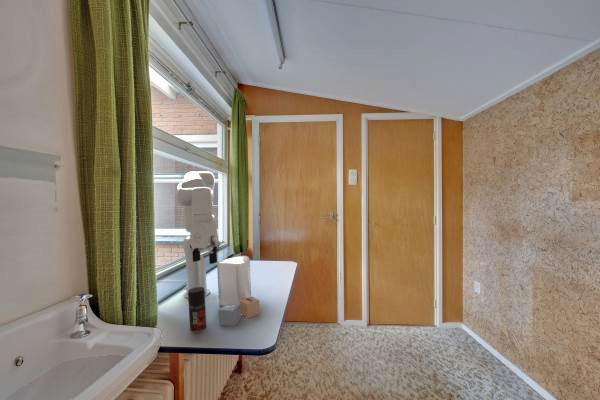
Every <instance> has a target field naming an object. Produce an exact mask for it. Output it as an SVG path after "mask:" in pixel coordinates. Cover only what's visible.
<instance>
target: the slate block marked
mask: <svg viewBox="0 0 600 400" xmlns="http://www.w3.org/2000/svg"><path fill="white" fill-rule="evenodd" d="M218 319H219V320H218V321H219V326H230V325H232V327H233V326H235V323H236V322H237V321H238V322H239V321H240V319H241V314H240V305H239V304H225V305H224V306H221V307H220V308H219V310H218ZM238 322H237V323H238ZM237 323H236V324H237Z"/></svg>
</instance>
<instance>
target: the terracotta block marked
mask: <svg viewBox="0 0 600 400" xmlns="http://www.w3.org/2000/svg"><path fill="white" fill-rule="evenodd" d="M260 313H261V311H260V299H259V298H256V297H254V296H252V295H251V297H248V298H245V299H242V300H240V315H241V314H242V315H241V316H243V317H244V316H245V317H244V318H246V319H249V317H250V318H252V317H255V316H257V315H259V314H260Z"/></svg>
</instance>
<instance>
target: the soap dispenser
mask: <svg viewBox="0 0 600 400" xmlns="http://www.w3.org/2000/svg"><path fill="white" fill-rule="evenodd" d="M250 261H251V259H250V257H249V256H247V255H239V256H233V257H230V258H225V259H222V260H219V261H217V262H216V266H217V267H216V269H217V273H216V274H217V290H218V291H217V292H218V305H219V306H221V307H223V306H224V305H225V304H239V305H240V300H242V299H245V298H248V297H251V296H252V281H251V280H252V279H251V278H252V277H251V262H250Z"/></svg>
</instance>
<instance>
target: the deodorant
mask: <svg viewBox="0 0 600 400" xmlns="http://www.w3.org/2000/svg"><path fill="white" fill-rule="evenodd" d="M205 297H206V296H205V289H204V288H203V287H196V288H192V289H190V290H188V317H189V318H188V319H189V320H188V321H189V330H190V332H192V333H196V332H197V333H198V332H201V331H203V330H205V329H206V328H207V315H206V314H207V313H206V298H205Z"/></svg>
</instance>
